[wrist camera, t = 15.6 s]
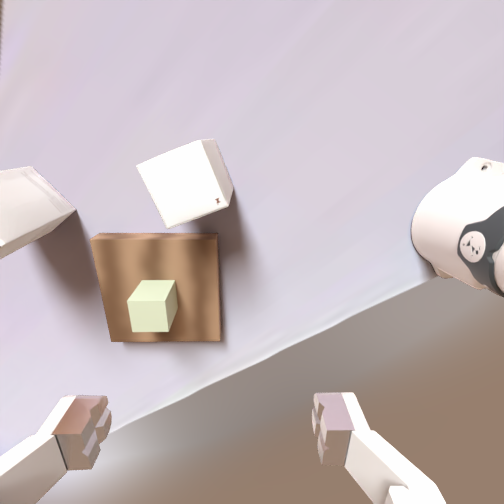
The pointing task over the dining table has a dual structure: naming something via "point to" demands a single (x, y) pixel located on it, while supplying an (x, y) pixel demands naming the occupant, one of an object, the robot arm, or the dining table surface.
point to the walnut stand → (160, 268)
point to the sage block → (153, 306)
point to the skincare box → (28, 208)
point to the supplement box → (188, 182)
